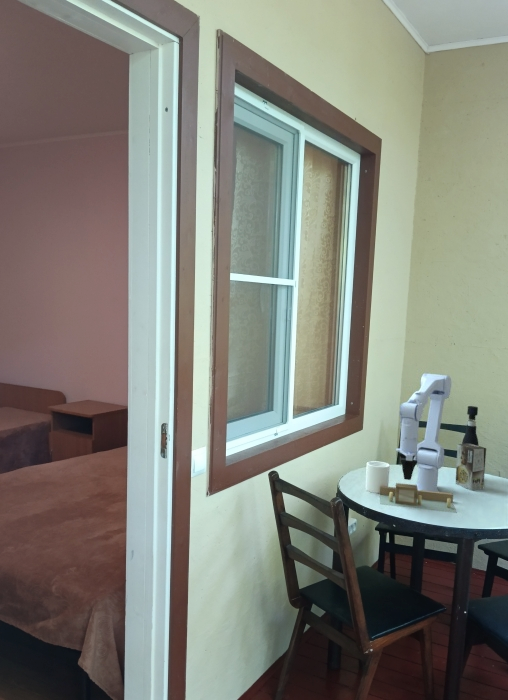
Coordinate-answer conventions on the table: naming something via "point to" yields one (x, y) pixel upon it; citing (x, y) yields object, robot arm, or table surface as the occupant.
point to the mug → (376, 476)
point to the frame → (406, 494)
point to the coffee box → (470, 466)
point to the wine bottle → (471, 427)
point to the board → (420, 499)
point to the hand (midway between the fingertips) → (406, 476)
